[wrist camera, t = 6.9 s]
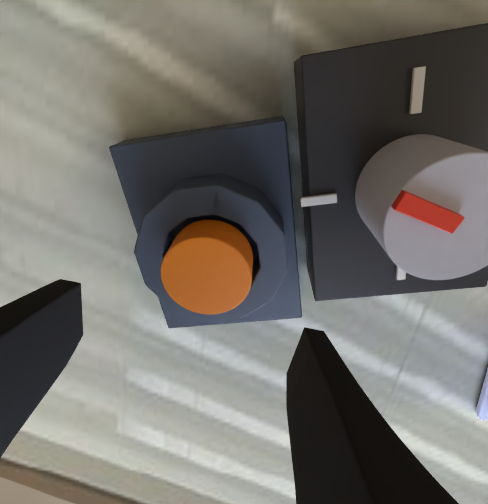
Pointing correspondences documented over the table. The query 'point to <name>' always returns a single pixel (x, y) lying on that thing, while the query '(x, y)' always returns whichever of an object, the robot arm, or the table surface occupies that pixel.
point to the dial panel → (379, 144)
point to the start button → (208, 267)
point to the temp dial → (428, 205)
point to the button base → (216, 208)
